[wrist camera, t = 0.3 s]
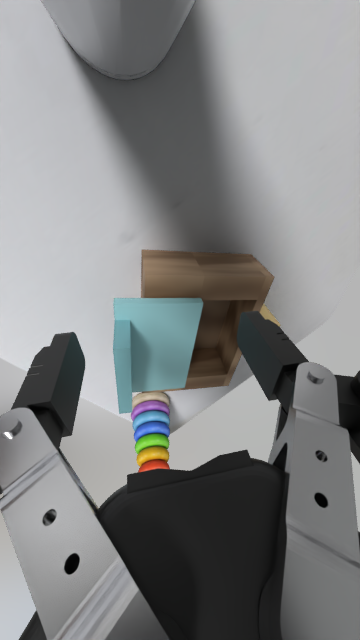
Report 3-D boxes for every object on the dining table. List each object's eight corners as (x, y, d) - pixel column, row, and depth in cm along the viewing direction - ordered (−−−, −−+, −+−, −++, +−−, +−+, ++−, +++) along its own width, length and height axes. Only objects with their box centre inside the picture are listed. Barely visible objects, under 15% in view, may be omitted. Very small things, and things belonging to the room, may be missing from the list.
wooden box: (141, 249, 26) (144, 274, 22) (251, 254, 29) (274, 277, 24) (140, 362, 38) (142, 393, 34) (217, 357, 41) (228, 385, 37)
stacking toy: (171, 387, 45) (191, 504, 31) (166, 408, 50) (182, 518, 36) (130, 390, 43) (132, 516, 29) (129, 411, 48) (131, 529, 34)
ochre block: (240, 304, 34) (254, 325, 30) (264, 304, 35) (280, 325, 31) (233, 324, 37) (245, 346, 33) (255, 323, 38) (270, 345, 34)
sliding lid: (113, 298, 22) (111, 332, 18) (201, 297, 24) (214, 328, 20) (120, 387, 32) (120, 421, 28) (183, 381, 33) (190, 413, 30)
